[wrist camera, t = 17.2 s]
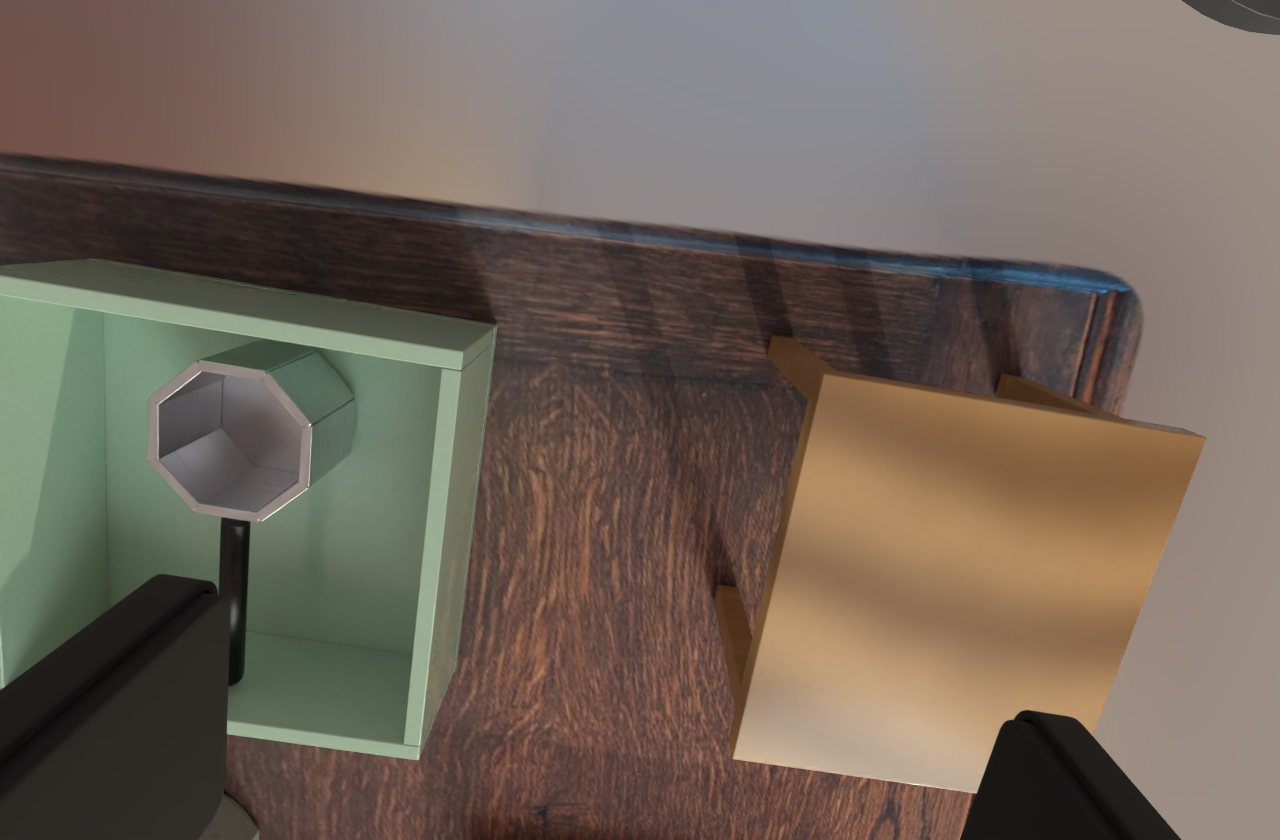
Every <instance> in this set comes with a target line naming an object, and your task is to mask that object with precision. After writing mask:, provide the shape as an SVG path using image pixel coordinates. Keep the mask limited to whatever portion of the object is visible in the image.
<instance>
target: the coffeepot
mask: <svg viewBox="0 0 1280 840" xmlns="http://www.w3.org/2000/svg"><path fill="white" fill-rule="evenodd" d="M199 840H260V838H259V829H258V828H257V826H256V825H255V823H254V822H253V820H252V819H251V817H250V816H249V815H248V814H247V812H246V811H245V810H244V809H243V808H242V807H241V806H240V805H239V804H238V803H236V802H235V801H234V800H233V799H232V798H230V797H229V796H227V795H225V794H223V798H222V801H221V803H220V806H219V809H218V811H217V813H216V815H215V817H214V818H213V820H212V821H211V823H210V824H209V826H208V827H207V829H206V830H205V831H204V833H203V834H202V836H201V837H200V839H199Z"/></svg>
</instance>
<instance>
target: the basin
mask: <svg viewBox="0 0 1280 840" xmlns="http://www.w3.org/2000/svg"><path fill="white" fill-rule="evenodd" d="M497 328H498V326H497V325H496V324H490V323H484V322H478V321H472V320H466V319H460V318H454V317H448V316H442V315H436V314H430V313H424V312H418V311H412V310H406V309H400V308H394V307H388V306H382V305H376V304H370V303H364V302H358V301H352V300H346V299H340V298H334V297H328V296H322V295H316V294H310V293H304V292H298V291H292V290H286V289H280V288H274V287H268V286H262V285H256V284H250V283H244V282H238V281H232V280H226V279H220V278H214V277H208V276H202V275H196V274H190V273H184V272H178V271H172V270H166V269H160V268H154V267H148V266H142V265H136V264H130V263H124V262H118V261H112V260H106V259H100V258H94V259H80V260H67V261H53V262H40V263H26V264H13V265H0V690H1V689H3V688H4V687H5V686H7V685H8V684H9V683H11V682H12V681H13V680H15V679H16V678H17V677H19V676H20V675H21V674H23V673H24V672H25V671H27V670H28V669H30V668H31V667H32V666H34V665H35V664H36V663H38V662H39V661H40V660H42V659H43V658H44V657H46V656H47V655H48V654H50V653H51V652H52V651H54V650H55V649H56V648H58V647H59V646H60V645H62V644H63V643H64V642H66V641H67V640H69V639H70V638H71V637H73V636H74V635H75V634H77V633H78V632H79V631H81V630H82V629H83V628H85V627H86V626H87V625H89V624H90V623H91V622H93V621H94V620H95V619H97V618H98V617H99V616H101V615H102V614H103V613H105V612H106V611H108V610H109V609H110V608H112V607H113V606H114V605H116V604H117V603H118V602H120V601H121V600H122V599H124V598H125V597H126V596H128V595H129V594H130V593H132V592H133V591H134V590H136V589H137V588H138V587H140V586H141V585H142V584H144V583H145V582H147V581H148V580H149V579H151V578H152V577H154V576H156V575H158V574H168V575H175V576H181V577H187V578H194V579H200V580H206V581H211V582H213V583H214V584H215V585H216V587H217V590H218V595H219V563H220V530H221V518H222V517H218V516H212V515H206V514H199V513H196V512H195V511H192V510H191V509H190V508H189V507H188V506H187V504H186V503H185V502H184V501H183V500H182V499H181V498H180V497H179V496H178V495H177V494H176V493H175V491H174V490H173V489H172V488H171V487H170V486H169V485H168V484H167V483H166V482H165V481H164V480H163V478H162V477H161V476H160V475H159V474H158V473H157V472H156V471H155V470H154V469H153V468H152V467H151V466H150V464H149V462H150V461H148V460H147V401H148V399H149V397H150V396H151V395H152V394H153V393H155V392H156V391H157V390H159V389H160V388H161V387H162V386H164V385H165V384H166V383H168V382H169V381H170V380H171V379H173V378H174V377H175V376H177V375H178V374H179V373H180V372H182V371H183V370H184V369H186V368H187V367H188V366H189V365H191V364H192V363H193V362H195V361H196V360H199V359H202V358H205V357H209V356H212V355H215V354H218V353H221V352H224V351H227V350H230V349H233V348H236V347H239V346H243V345H246V344H249V343H252V342H256V341H263V342H269V343H288V344H294V345H298V346H302V347H304V348H307V349H310V350H315V352H318V353H319V354H320V355H321V356H322V357H324V358H325V359H327V360H328V361H329V362H330V363H331V364H332V365H334V366H335V367H336V369H337V370H338V371H339V372H340V373H341V374H342V376H343V377H344V378H345V380H346V382H347V383H348V385H349V387H350V389H351V391H352V394H353V395H354V399H355V404H356V409H357V427H356V433H355V436H354V439H353V442H352V451H351V452H350V455H348V456H347V457H346V458H345V459H343V460H342V461H341V462H340V463H339V464H337V465H336V466H335V467H334V468H333V469H331V470H330V471H329V472H328V473H327V474H325V475H324V476H323V477H322V478H320V479H319V480H318V481H317V482H316V483H314V484H313V485H312V486H311V487H310V488H308V489H307V490H306V491H304V492H303V493H302V494H300V495H299V496H297V497H296V498H295V499H293V500H292V501H290V502H289V503H288V504H286V505H285V506H283V507H282V508H281V509H279V510H278V511H277V512H275V513H274V514H272V515H271V516H270V517H268V518H267V519H265V520H264V521H263V522H259V523H257V522H251V525H250V549H249V574H248V598H247V622H246V646H245V670H244V676H243V678H242V679H241V681H240V682H239V683H237V684H236V685H233V686H228V712H227V734H230V735H237V736H245V737H252V738H259V739H266V740H274V741H281V742H288V743H296V744H303V745H310V746H317V747H325V748H332V749H339V750H346V751H354V752H361V753H368V754H375V755H383V756H390V757H397V758H405V759H412V760H419V758H420V755H421V753H422V751H423V748H424V746H425V743H426V741H427V738H428V736H429V733H430V731H431V728H432V726H433V723H434V721H435V718H436V716H437V713H438V711H439V708H440V706H441V703H442V701H443V698H444V696H445V693H446V691H447V688H448V686H449V683H450V681H451V678H452V676H453V673H454V671H455V668H456V666H457V661H458V653H459V644H460V636H461V628H462V619H463V611H464V603H465V594H466V586H467V578H468V569H469V561H470V553H471V544H472V536H473V528H474V520H475V511H476V503H477V495H478V486H479V478H480V470H481V461H482V453H483V445H484V436H485V428H486V420H487V411H488V403H489V395H490V386H491V378H492V370H493V361H494V353H495V345H496V336H497Z"/></svg>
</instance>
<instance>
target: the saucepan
mask: <svg viewBox="0 0 1280 840" xmlns="http://www.w3.org/2000/svg"><path fill="white" fill-rule="evenodd" d="M356 427H357V409H356V404H355V399H354V395H353V394H352V391H351V389H350V387H349V385H348V383H347V382H346V380H345V378H344V377H343V376H342V374H341V373H340V372H339V371H338V370H337V369H336V367H335V366H334V365H332V364H331V363H330V362H329V361H328V360H327V359H325V358H324V357H322V356H321V355H320V354H319V353H318V352H315V350H310V349H307V348H304V347H302V346H298V345H294V344H288V343H269V342H263V341H256V342H252V343H249V344H246V345H243V346H239V347H236V348H233V349H230V350H227V351H224V352H221V353H218V354H215V355H212V356H209V357H205V358H202V359H199V360H196V361H195V362H193V363H192V364H191V365H189V366H188V367H187V368H186V369H184V370H183V371H182V372H180V373H179V374H178V375H177V376H175V377H174V378H173V379H171V380H170V381H169V382H168V383H166V384H165V385H164V386H162V387H161V388H160V389H159V390H157V391H156V392H155V393H153V394H152V395H151V396H150V397H149V399H148V401H147V460H148V461H150V462H149V464H150V466H151V467H152V468H153V469H154V470H155V471H156V472H157V473H158V474H159V475H160V476H161V477H162V478H163V480H164V481H165V482H166V483H167V484H168V485H169V486H170V487H171V488H172V489H173V490H174V491H175V493H176V494H177V495H178V496H179V497H180V498H181V499H182V500H183V501H184V502H185V503H186V504H187V506H188V507H189V508H190V509H191V510H192V511H195V512H196V513H199V514H206V515H212V516H218V517H222V518H221V530H220V563H219V596H225V597H227V598H228V599H229V602H230V609H231V613H230V646H229V679H228V686H233V685H236V684H237V683H239V682H240V681H241V679H242V678H243V676H244V670H245V646H246V622H247V598H248V574H249V549H250V525H251V522H257V523H259V522H263V521H264V520H265V519H267V518H268V517H270V516H271V515H272V514H274V513H275V512H277V511H278V510H279V509H281V508H282V507H283V506H285V505H286V504H288V503H289V502H290V501H292V500H293V499H295V498H296V497H297V496H299V495H300V494H302V493H303V492H304V491H306V490H307V489H308V488H310V487H311V486H312V485H313V484H314V483H316V482H317V481H318V480H319V479H320V478H322V477H323V476H324V475H325V474H327V473H328V472H329V471H330V470H331V469H333V468H334V467H335V466H336V465H337V464H339V463H340V462H341V461H342V460H343V459H345V458H346V457H347V456H348V455H350V452H351V451H352V442H353V439H354V436H355V433H356Z"/></svg>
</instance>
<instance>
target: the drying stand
mask: <svg viewBox="0 0 1280 840" xmlns="http://www.w3.org/2000/svg"><path fill="white" fill-rule="evenodd" d="M767 358H768V359H769V360H770V361H771V362H772V363H773V364H774V365H775V366H776V367H777V368H778V370H779V371H780V372H781V373H782V374H783V375H784V376H785V377H786V378H787V379H788V380H789V381H790V382H791V383H792V384H793V385H794V386H795V388H796V389H797V390H798V391H799V392H800V393H801V394H802V395H803V396H804V397H805V398H806V399H807V400H808V403H807V407H806V412H805V416H804V420H803V425H802V429H801V433H800V437H799V442H798V446H797V450H796V454H795V459H794V463H793V467H792V471H791V476H790V480H789V484H788V488H787V493H786V497H785V501H784V505H783V510H782V514H781V518H780V522H779V527H778V531H777V535H776V539H775V544H774V548H773V552H772V556H771V561H770V565H769V569H768V574H767V578H766V582H765V586H764V591H763V595H762V599H761V603H760V608H759V612H758V616H757V620H756V625H755V629H754V633H753V637H752V635H751V631H750V628H749V624H748V620H747V617H746V613H745V610H744V606H743V602H742V599H741V595H740V592H739V588H738V587H732V586H725V585H718V586H717V590H716V594H715V599H714V606H715V611H716V616H717V621H718V626H719V631H720V635H721V640H722V645H723V650H724V655H725V660H726V665H727V670H728V675H729V680H730V685H731V690H732V694H733V699H734V704H735V709H736V710H735V714H734V718H733V723H732V727H731V731H730V735H729V744H730V750H731V755H732V759H736V760H743V761H750V762H757V763H764V764H772V765H779V766H786V767H793V768H800V769H807V770H814V771H821V772H828V773H836V774H843V775H850V776H857V777H864V778H871V779H878V780H885V781H893V782H900V783H907V784H914V785H921V786H928V787H935V788H942V789H949V790H957V791H964V792H971V793H977V791H978V788H979V786H980V783H981V780H982V777H983V775H984V772H985V769H986V766H987V763H988V761H989V758H990V755H991V752H992V750H993V747H994V744H995V741H996V738H997V736H998V733H999V730H1000V728H1001V726H1002V724H1003V723H1004V722H1006V721H1007V720H1014V718H1015V716H1016V715H1017V714H1018V713H1020V712H1021V711H1024V710H1031V711H1038V712H1044V713H1051V714H1057V715H1063V716H1069V717H1072V718H1076V719H1077V720H1078V721H1079V722H1080V723H1082V724H1083V725H1084V727H1085V728H1086V729H1087V730H1088V731H1089V732H1090V734H1091V735H1092V736H1093V733H1094V731H1095V728H1096V725H1097V723H1098V720H1099V718H1100V715H1101V712H1102V710H1103V707H1104V704H1105V702H1106V699H1107V697H1108V694H1109V691H1110V689H1111V686H1112V684H1113V681H1114V678H1115V676H1116V673H1117V671H1118V668H1119V665H1120V663H1121V660H1122V657H1123V655H1124V652H1125V650H1126V647H1127V644H1128V642H1129V639H1130V636H1131V634H1132V631H1133V629H1134V626H1135V624H1136V621H1137V618H1138V616H1139V613H1140V611H1141V608H1142V605H1143V603H1144V600H1145V598H1146V595H1147V592H1148V590H1149V587H1150V584H1151V582H1152V579H1153V576H1154V574H1155V571H1156V569H1157V566H1158V563H1159V561H1160V558H1161V556H1162V553H1163V550H1164V548H1165V545H1166V543H1167V540H1168V538H1169V535H1170V532H1171V530H1172V527H1173V524H1174V522H1175V519H1176V517H1177V514H1178V511H1179V509H1180V506H1181V503H1182V501H1183V498H1184V496H1185V493H1186V491H1187V488H1188V485H1189V483H1190V480H1191V477H1192V475H1193V472H1194V470H1195V467H1196V464H1197V462H1198V459H1199V457H1200V454H1201V451H1202V449H1203V446H1204V443H1205V441H1206V437H1204V436H1201V435H1199V434H1196V433H1194V432H1191V431H1188V430H1186V429H1183V428H1177V427H1171V426H1165V425H1158V424H1153V423H1147V422H1141V421H1134V420H1129V419H1124V418H1121V417H1119V416H1117V415H1114V414H1112V413H1109V412H1107V411H1104V410H1102V409H1099V408H1097V407H1095V406H1092V405H1090V404H1087V403H1085V402H1082V401H1080V400H1077V399H1075V398H1073V397H1070V396H1068V395H1065V394H1063V393H1060V392H1058V391H1056V390H1053V389H1051V388H1048V387H1046V386H1043V385H1041V384H1038V383H1036V382H1034V381H1031V380H1029V379H1026V378H1024V377H1019V376H1013V375H1007V374H1001V377H1000V380H999V384H998V387H997V390H996V394H995V396H996V397H992V396H986V395H980V394H974V393H968V392H962V391H956V390H950V389H944V388H938V387H932V386H926V385H921V384H915V383H909V382H903V381H897V380H891V379H885V378H879V377H873V376H867V375H861V374H855V373H849V372H843V371H837V370H835V369H834V368H832V367H831V366H830V365H828V364H827V363H826V362H824V361H823V360H822V359H820V358H819V357H818V356H816V355H815V354H814V353H812V352H811V351H810V350H809V349H807V348H806V347H805V346H803V345H802V344H801V343H799V342H798V341H797V340H795V339H794V338H789V337H783V336H777V335H772V336H771V340H770V345H769V350H768V354H767Z"/></svg>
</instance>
